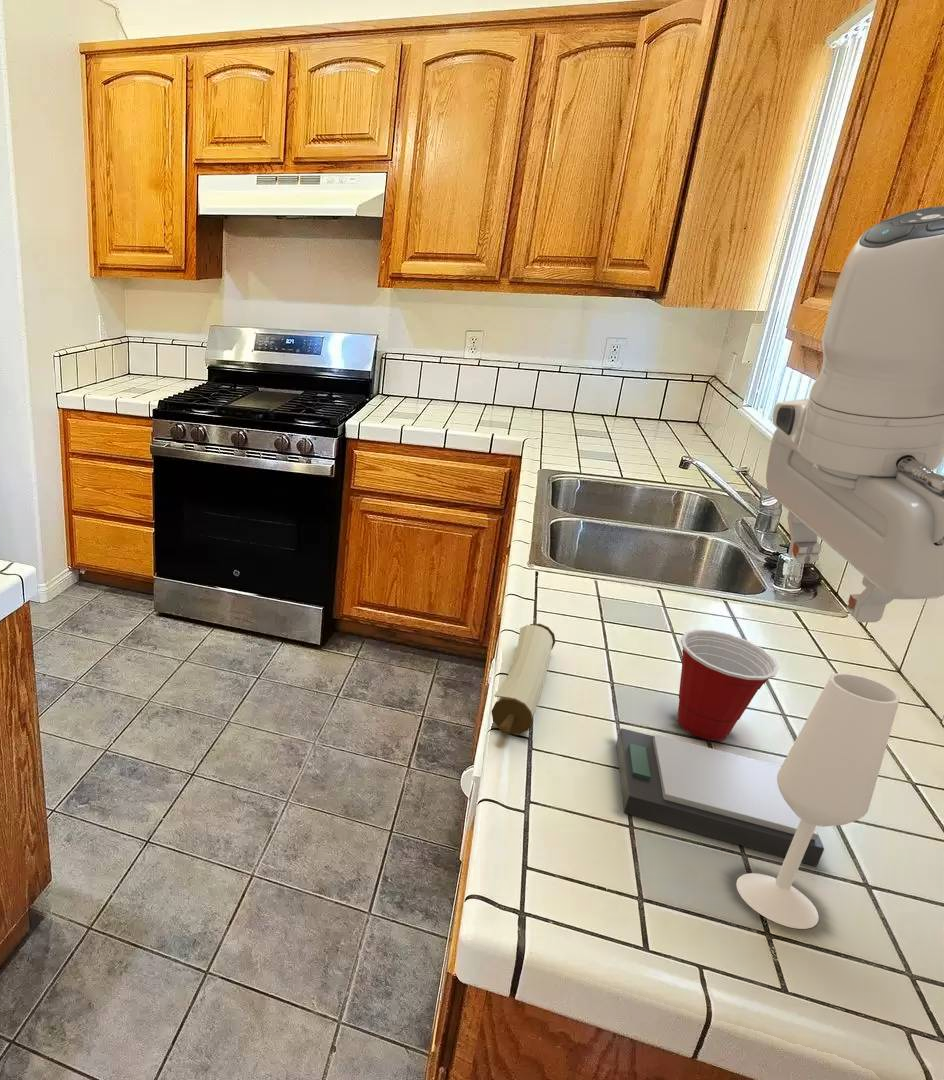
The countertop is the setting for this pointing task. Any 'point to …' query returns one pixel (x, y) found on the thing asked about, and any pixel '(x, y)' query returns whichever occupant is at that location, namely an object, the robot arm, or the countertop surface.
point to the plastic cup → (719, 681)
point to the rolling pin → (524, 680)
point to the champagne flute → (825, 784)
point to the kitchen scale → (708, 793)
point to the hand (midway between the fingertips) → (830, 586)
